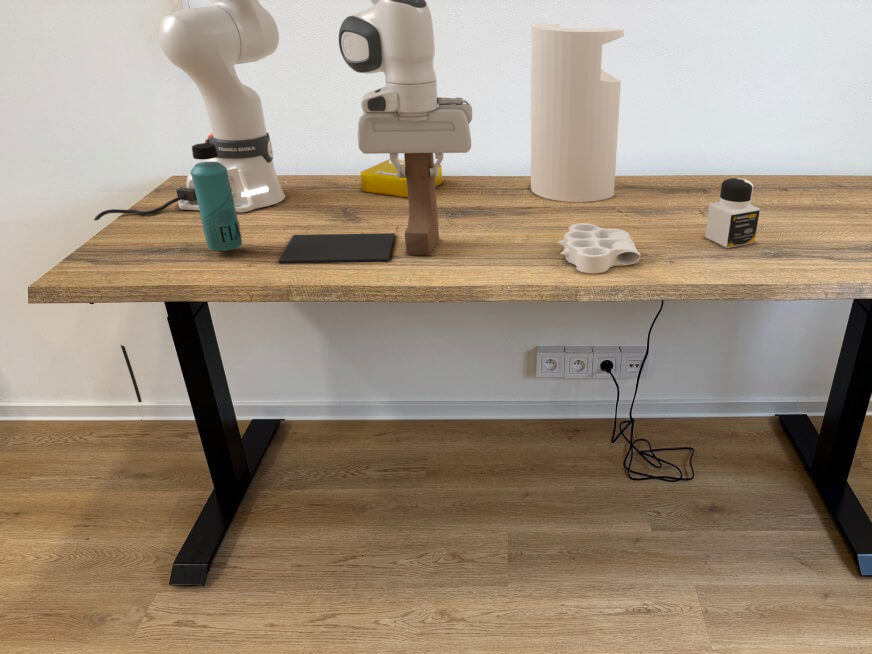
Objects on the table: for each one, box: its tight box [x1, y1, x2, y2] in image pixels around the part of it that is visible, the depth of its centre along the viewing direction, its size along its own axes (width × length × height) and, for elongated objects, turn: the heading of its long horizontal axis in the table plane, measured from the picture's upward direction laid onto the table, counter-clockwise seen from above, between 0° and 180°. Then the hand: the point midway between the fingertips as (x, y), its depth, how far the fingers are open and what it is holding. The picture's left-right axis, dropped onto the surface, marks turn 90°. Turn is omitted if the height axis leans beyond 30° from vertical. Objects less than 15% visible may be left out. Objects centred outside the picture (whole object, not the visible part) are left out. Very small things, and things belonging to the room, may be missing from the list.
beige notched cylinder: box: [530, 22, 625, 203], centre depth 171 cm, size 35×11×21 cm
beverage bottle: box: [189, 142, 243, 252], centre depth 141 cm, size 6×7×20 cm
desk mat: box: [278, 232, 396, 264], centre depth 149 cm, size 20×14×1 cm
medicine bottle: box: [704, 177, 761, 249], centre depth 152 cm, size 7×7×12 cm
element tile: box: [359, 157, 443, 199], centre depth 183 cm, size 15×15×5 cm
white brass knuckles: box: [556, 222, 641, 275], centre depth 146 cm, size 3×18×15 cm
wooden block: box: [403, 153, 440, 256], centre depth 145 cm, size 9×4×18 cm, turn 174°
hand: (418, 177), depth 143 cm, fingers closed on wooden block, 4 cm apart
